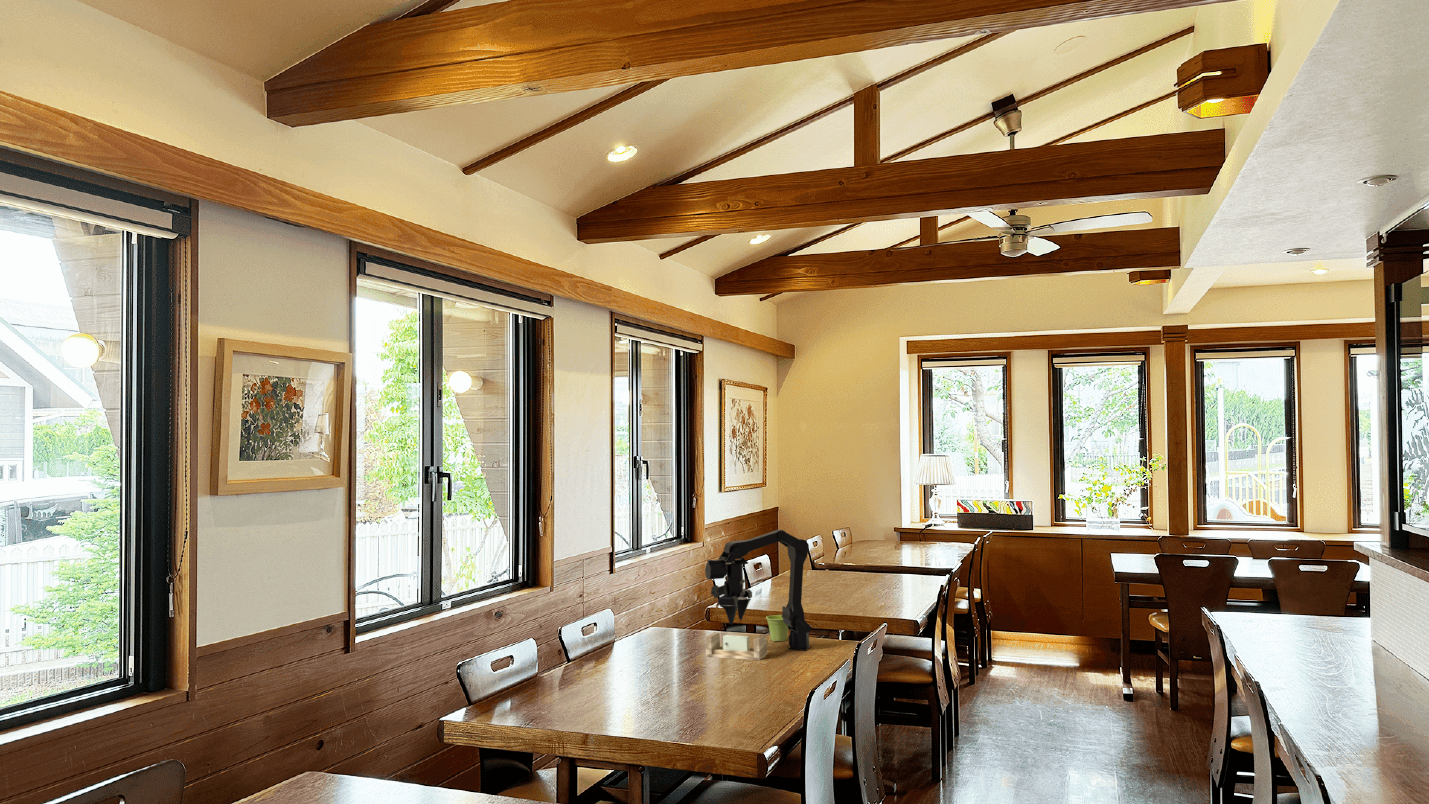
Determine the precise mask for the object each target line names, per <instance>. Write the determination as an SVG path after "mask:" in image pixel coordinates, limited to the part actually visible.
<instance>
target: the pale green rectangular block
mask: <svg viewBox="0 0 1429 804" xmlns="http://www.w3.org/2000/svg"><path fill="white" fill-rule="evenodd" d="M722 646H723V650H736V651H750V648H751V647H750V636H748V635H730V634H728V635H727V634H725V635H723V636H722Z"/></svg>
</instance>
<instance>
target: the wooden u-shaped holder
mask: <svg viewBox="0 0 1429 804" xmlns="http://www.w3.org/2000/svg"><path fill="white" fill-rule="evenodd" d="M720 633H721V632H719V631H718V632H716V631H715V632H712V633H710V634H708V635H706V636H705V652H706V653H705V655H706V657H707V658H708V657H709V658H721V659H733V660H734V659H737V660H748V661H749V660H750V661H751V660H752V661H754V660H755V661H760V660H762V659H763V658H765V657H767V656H768V642H767V639H768V637H767V634H760V635H758V636H757V637H755V638H753V641H752V642H753V647H750V651H736V650H723V645H721V640H720V639H721V637H720ZM766 655H767V656H766Z"/></svg>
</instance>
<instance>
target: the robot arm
mask: <svg viewBox="0 0 1429 804" xmlns="http://www.w3.org/2000/svg"><path fill="white" fill-rule="evenodd" d="M775 543H776V544H777V543H780V544H781V545H782V546H784V547H786V548H787V556H788V559H789V562H790V566H789V567H790V570H789V583H788V584H789V585H788V586H789V587H788V601H787V604H786V605H785V606H782V607H781V608H782V609H781V610H782V614H781V615H782V618H783V622H784V623H785V624H786V625H787V627H788V631H789V635H788V650H792V651H794V650H795V651H807V650H808V649H810V648H811V647H812V646H811V645H810V637H809V636H810V633H811V630H812V626H811V625H810V624H809V623H808V622H807V621H806V617H805V611H804V607H803V605H802V598H803V597H802V596H803V594H802V593H803V578H804V564H805V561H806V560H807V558H808V554H809V549H810V546H809V543H808V541H807V540H805V539H802V538H798V537H795V535H792V534H790V533H787V532H786V531H785V530H783V529H775V530H773V531H771V532H767V533H764V534H761V535H758V536H756V537H755V536H754V537H751V538H749V539H741V540H739V539H738V540H731V541H728V542H725V544H724V547H723V550H722V552H721V555H720V556H718V559H706V565H705V568H704V573H705V574H704V575H705V578H706V579H707V580H720V579H725V577H726V580H724V582H723V585H721V586H718V585H713V586H711V589H710V594H711V596H713V599H716V598H718V597H719V598H718V599H717V605H718V606H719V607H720V608H722V609H724V610H725V613H726V616H727V620H728V623H729V625H734V622H735V618H736V614H737V615H738V619H739V620H741V621H742V620H743V618H744V616H745V613H746V611H747V608H748V606H749V604H750V602H751V600H752V598H753V592H752V590H751V589H747V588H745V589H744V583H745V582H746V579H744V573H743V565H748V564H749V561H747V560H746V559H745V556H747V555H748V554H749V553H750V552H753V551H754V550H758V549H760V548H764V547H767V546H770V545H774V544H775Z"/></svg>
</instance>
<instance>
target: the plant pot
mask: <svg viewBox="0 0 1429 804" xmlns="http://www.w3.org/2000/svg"><path fill="white" fill-rule="evenodd" d="M765 619H766V621H767V623H768V624H767V625H768V631H769V635H770V636H769V637H770V641H771V642H772V641H773V642H787V640H788V633H789V629H788V627H787V625H786V624H785V623H784V622H783V618H782V614H777V615H773V614H772V615H768V616H767V615H766V617H765Z"/></svg>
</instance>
